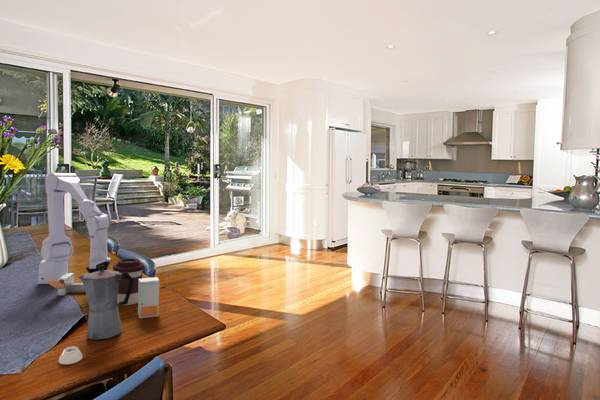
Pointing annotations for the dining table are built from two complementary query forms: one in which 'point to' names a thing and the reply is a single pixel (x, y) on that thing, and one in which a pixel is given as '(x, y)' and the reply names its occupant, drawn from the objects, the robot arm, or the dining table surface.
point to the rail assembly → (70, 284)
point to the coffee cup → (135, 272)
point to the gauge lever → (57, 284)
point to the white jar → (70, 356)
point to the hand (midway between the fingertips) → (98, 282)
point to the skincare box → (148, 297)
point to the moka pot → (104, 302)
